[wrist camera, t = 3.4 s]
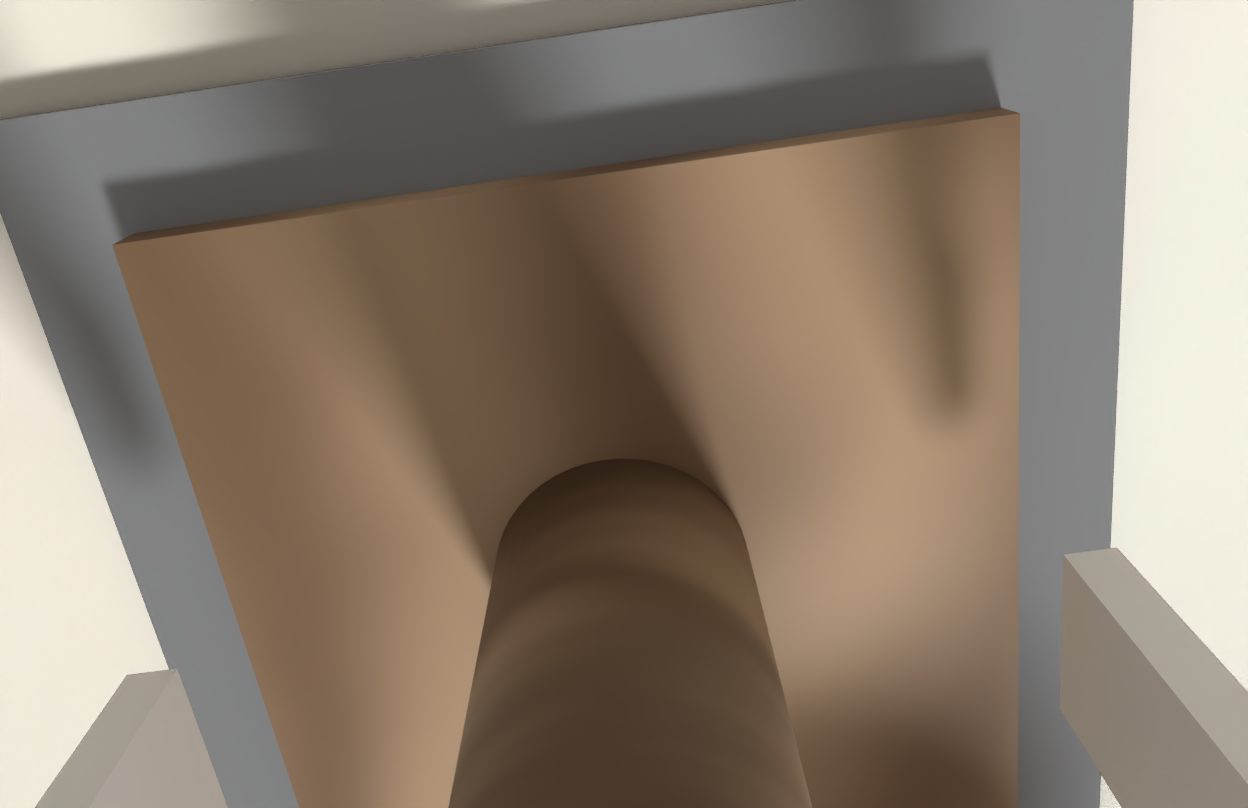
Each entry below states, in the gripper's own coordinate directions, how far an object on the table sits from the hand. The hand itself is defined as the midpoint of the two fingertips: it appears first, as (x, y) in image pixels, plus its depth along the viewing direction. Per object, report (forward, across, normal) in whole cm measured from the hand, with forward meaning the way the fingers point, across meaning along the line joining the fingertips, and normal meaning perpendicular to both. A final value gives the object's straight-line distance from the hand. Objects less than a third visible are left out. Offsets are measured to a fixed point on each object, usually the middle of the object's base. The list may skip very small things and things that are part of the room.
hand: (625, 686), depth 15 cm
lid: (+4, 0, 0) cm, 4 cm away
